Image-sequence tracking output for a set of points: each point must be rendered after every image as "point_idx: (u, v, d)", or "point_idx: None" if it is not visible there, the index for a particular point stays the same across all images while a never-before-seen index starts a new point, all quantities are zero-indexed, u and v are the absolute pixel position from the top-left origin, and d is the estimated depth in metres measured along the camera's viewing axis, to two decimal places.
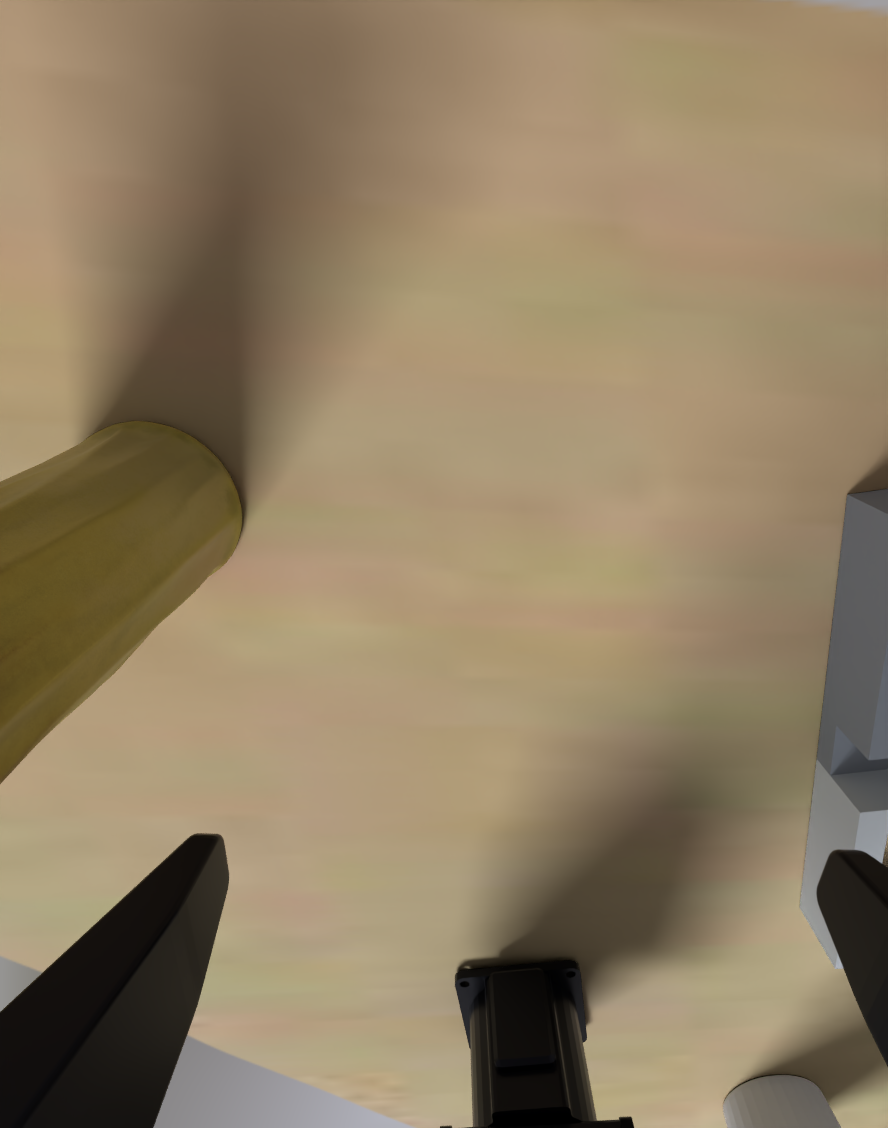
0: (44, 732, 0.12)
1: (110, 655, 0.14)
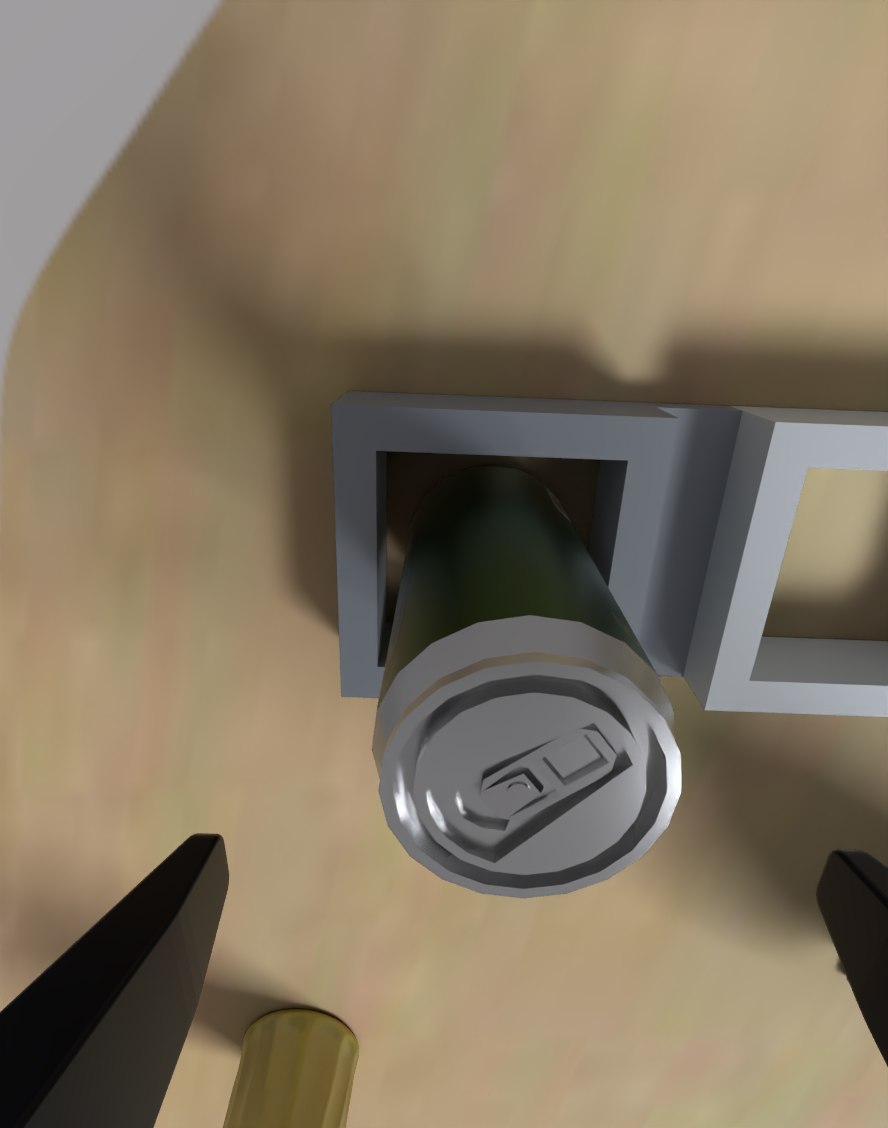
0: None
1: None
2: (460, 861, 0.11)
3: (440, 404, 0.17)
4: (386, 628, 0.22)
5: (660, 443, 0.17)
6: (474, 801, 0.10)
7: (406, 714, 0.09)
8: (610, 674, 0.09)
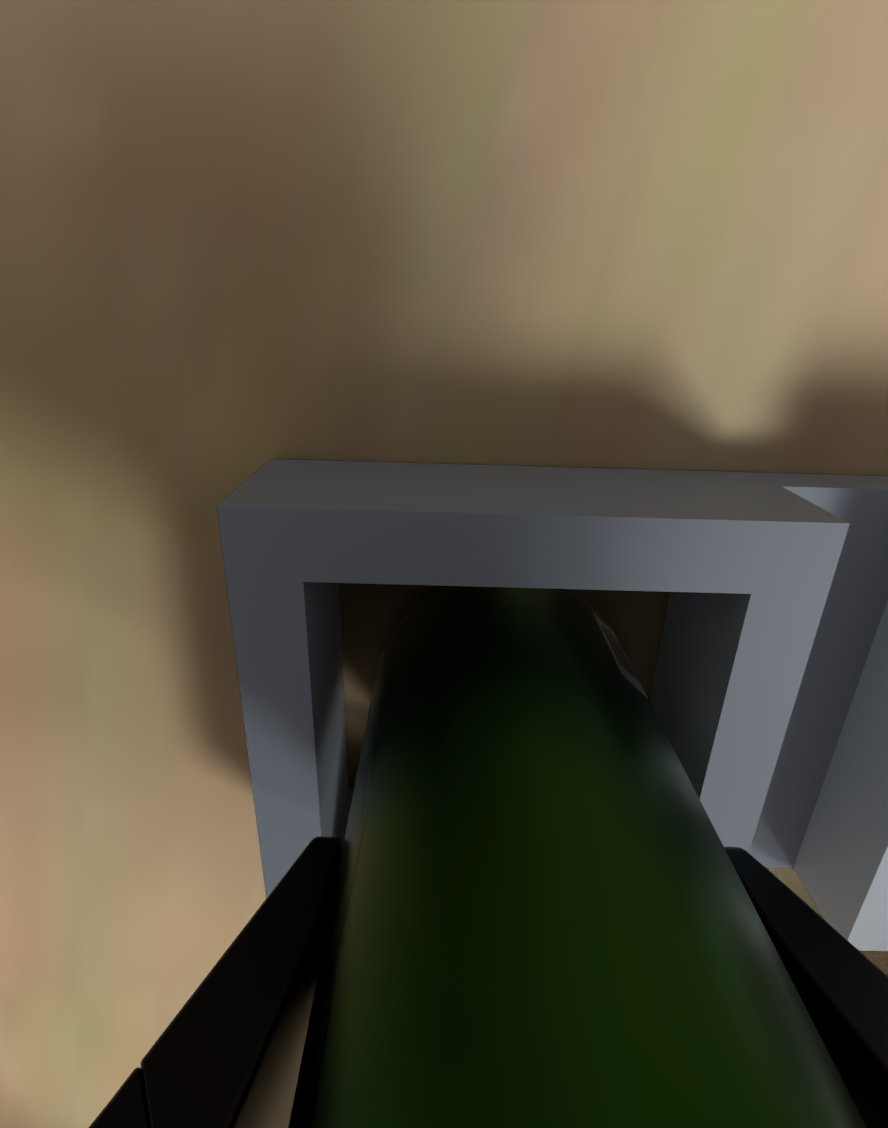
0: None
1: None
2: None
3: (417, 494, 0.10)
4: (346, 802, 0.14)
5: (810, 565, 0.09)
6: None
7: None
8: None
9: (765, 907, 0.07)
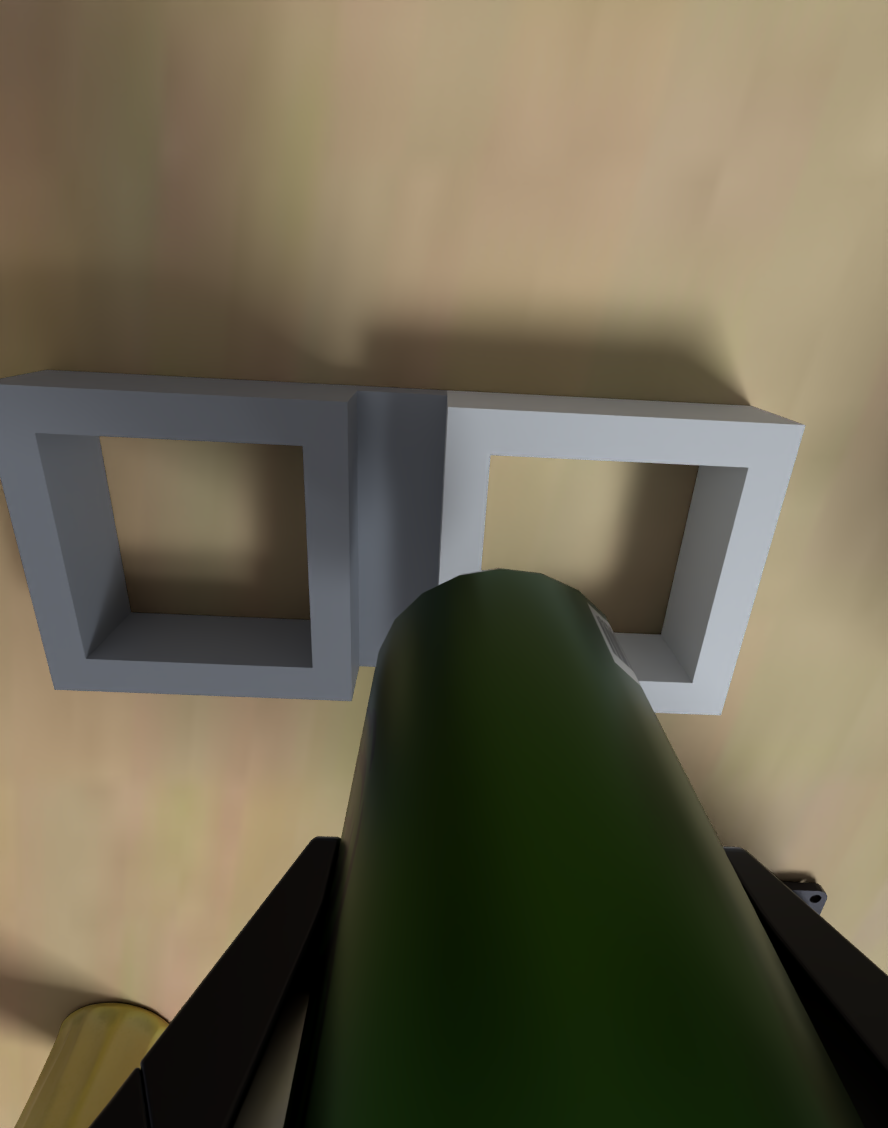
0: None
1: None
2: None
3: (110, 384, 0.16)
4: (125, 618, 0.21)
5: (332, 428, 0.16)
6: None
7: None
8: None
9: (765, 907, 0.07)
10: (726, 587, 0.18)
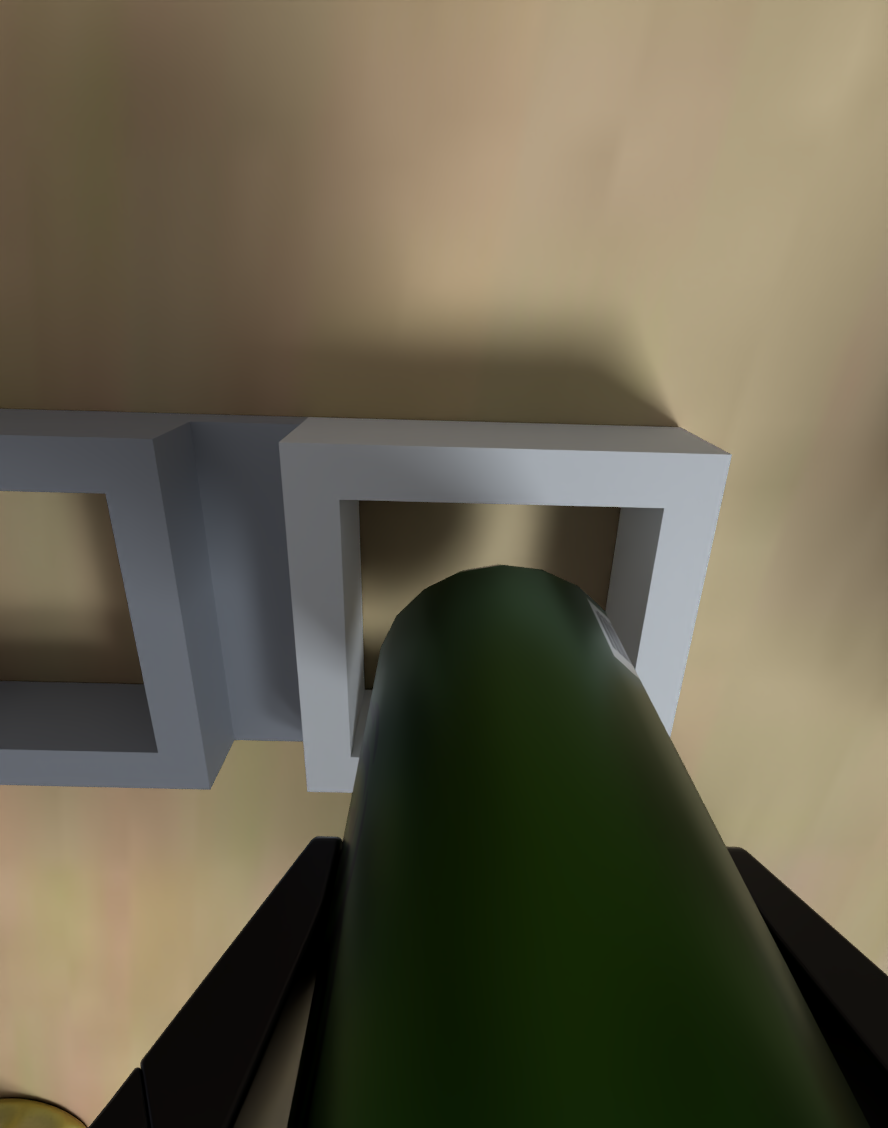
0: None
1: None
2: None
3: None
4: None
5: (138, 471, 0.13)
6: None
7: None
8: None
9: (765, 907, 0.07)
10: (649, 652, 0.14)
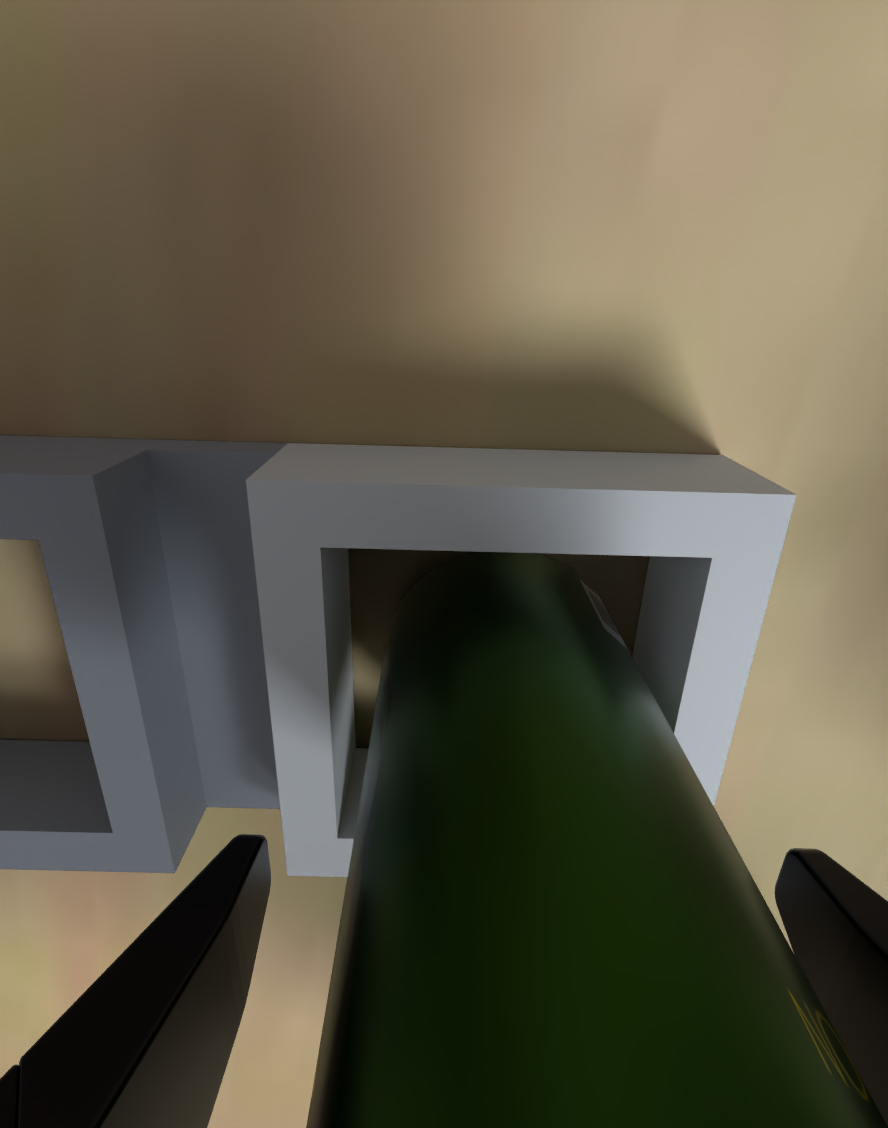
0: None
1: None
2: None
3: None
4: None
5: (77, 514, 0.11)
6: None
7: None
8: None
9: (854, 909, 0.08)
10: (689, 722, 0.12)
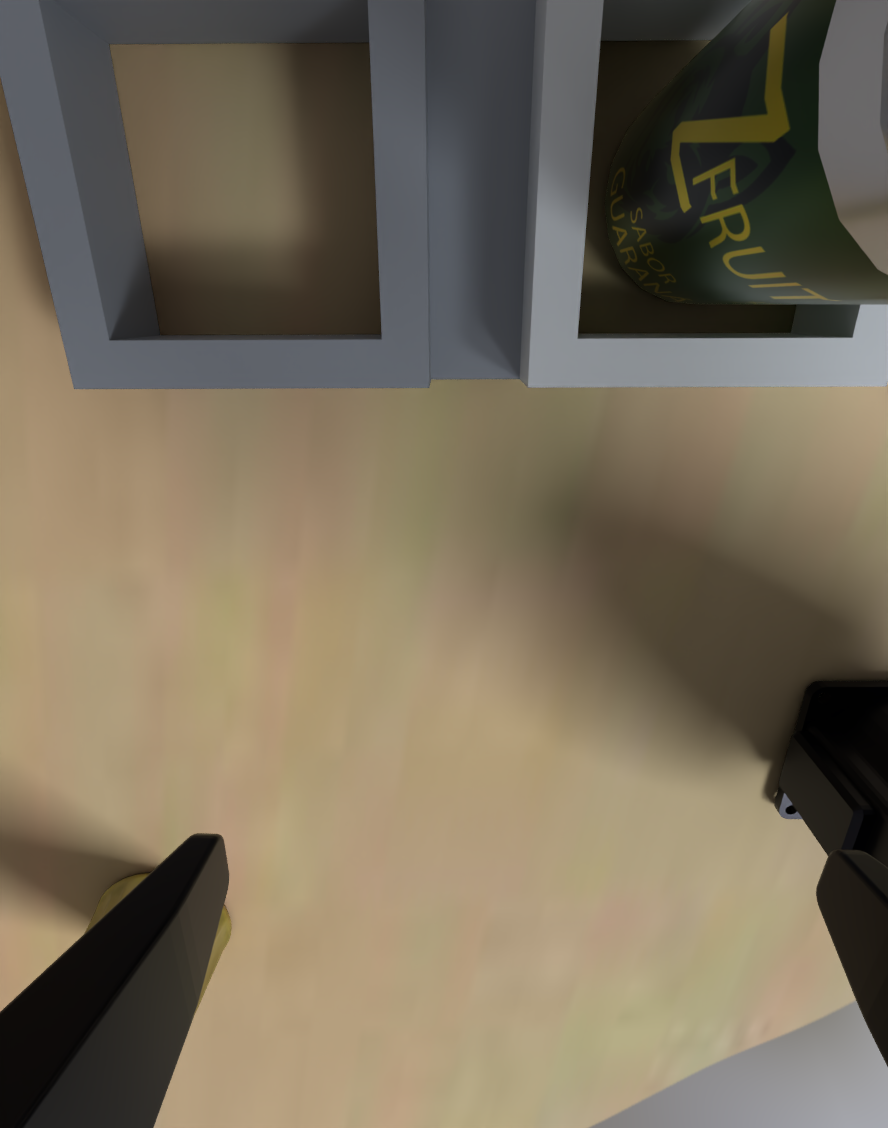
0: None
1: None
2: None
3: None
4: (154, 335, 0.18)
5: None
6: None
7: None
8: None
9: None
10: None
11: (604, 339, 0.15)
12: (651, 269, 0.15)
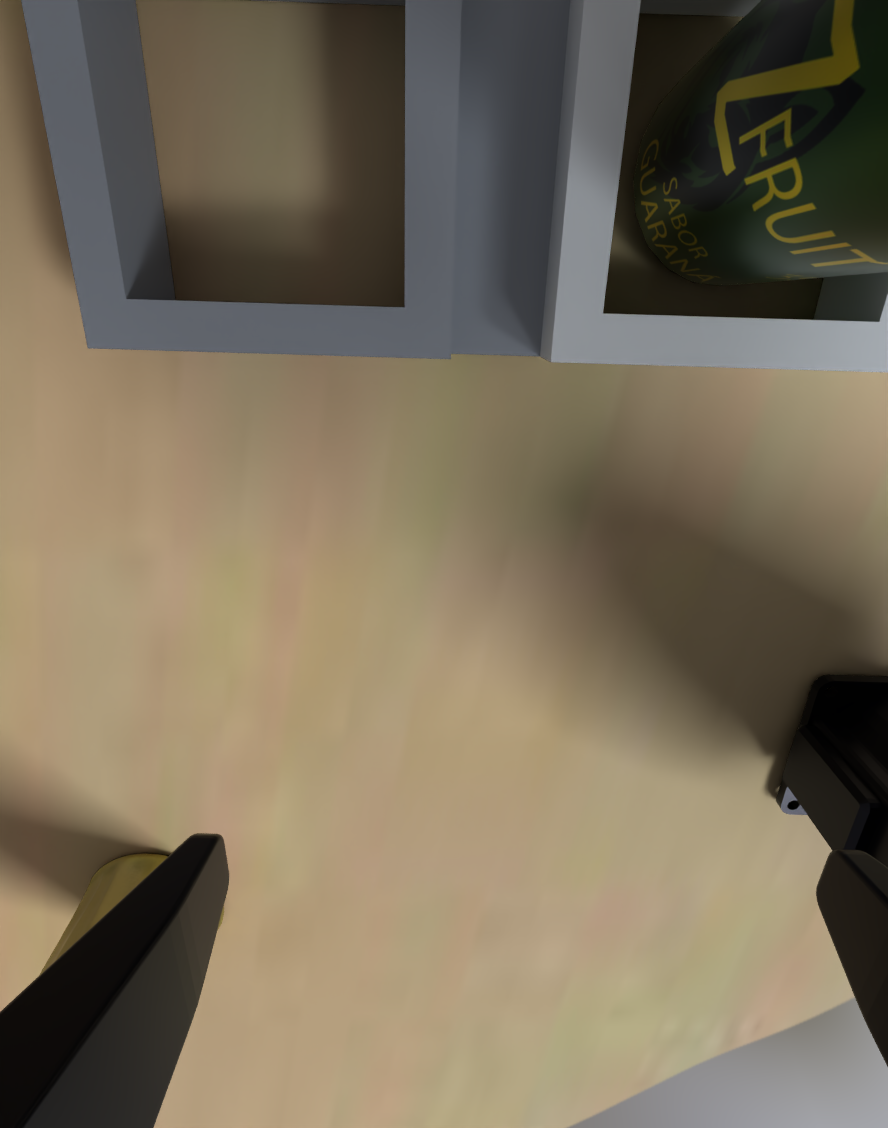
0: None
1: None
2: None
3: None
4: (170, 299, 0.18)
5: None
6: None
7: None
8: None
9: None
10: None
11: (630, 315, 0.15)
12: (681, 244, 0.15)
